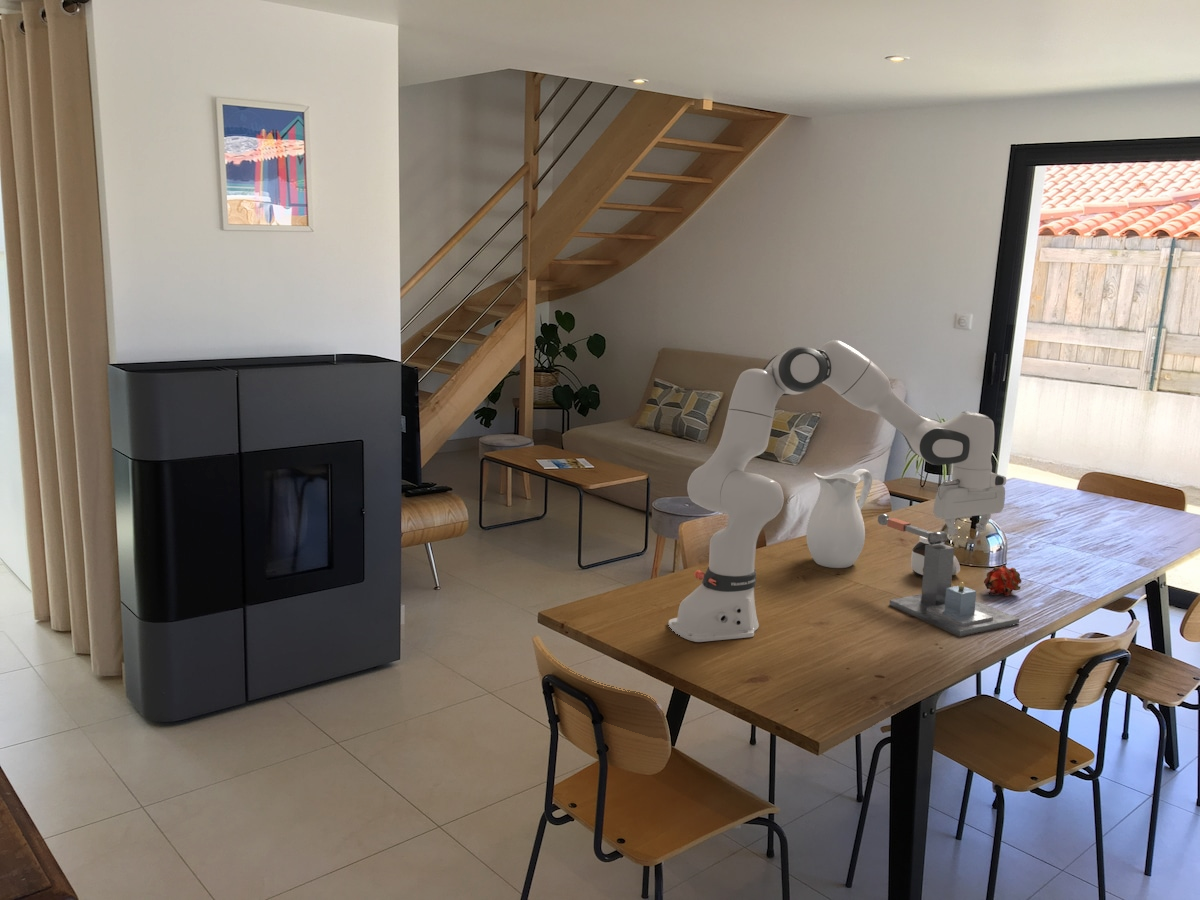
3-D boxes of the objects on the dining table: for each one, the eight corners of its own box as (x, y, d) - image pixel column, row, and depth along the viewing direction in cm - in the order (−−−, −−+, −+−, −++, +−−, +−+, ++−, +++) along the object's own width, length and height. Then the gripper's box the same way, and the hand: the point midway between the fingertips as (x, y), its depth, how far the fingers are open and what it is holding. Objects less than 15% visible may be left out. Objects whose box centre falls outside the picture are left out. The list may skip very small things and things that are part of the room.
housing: (959, 617, 235) (962, 587, 234) (944, 610, 240) (946, 581, 238) (974, 614, 237) (977, 584, 236) (959, 607, 242) (961, 578, 240)
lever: (935, 546, 244) (936, 534, 244) (873, 524, 265) (874, 513, 264) (947, 544, 246) (948, 532, 245) (884, 522, 266) (885, 511, 266)
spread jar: (906, 574, 275) (909, 535, 273) (924, 566, 283) (927, 528, 281) (946, 584, 267) (949, 544, 265) (963, 575, 275) (967, 536, 273)
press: (959, 637, 229) (965, 571, 225) (889, 605, 250) (893, 544, 247) (1018, 624, 237) (1024, 560, 234) (946, 594, 258) (950, 536, 255)
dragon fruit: (1019, 596, 262) (988, 609, 257) (999, 572, 267) (968, 584, 262) (1035, 579, 256) (1003, 591, 251) (1013, 554, 260) (982, 566, 255)
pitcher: (837, 575, 274) (842, 481, 269) (793, 560, 287) (797, 470, 282) (889, 560, 288) (895, 471, 283) (845, 547, 301) (850, 461, 296)
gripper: (949, 484, 225) (944, 540, 227) (1011, 477, 233) (1006, 532, 236) (929, 478, 230) (925, 534, 233) (991, 472, 239) (986, 526, 241)
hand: (966, 533), depth 234 cm, fingers open, 8 cm apart
